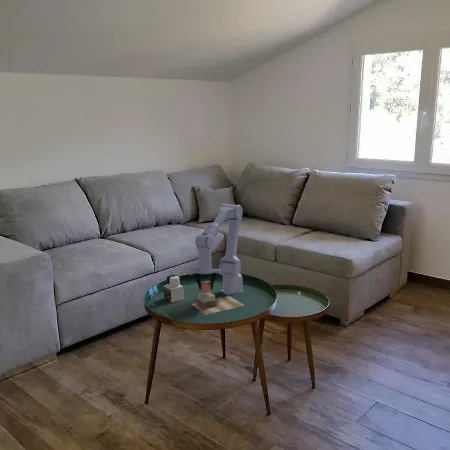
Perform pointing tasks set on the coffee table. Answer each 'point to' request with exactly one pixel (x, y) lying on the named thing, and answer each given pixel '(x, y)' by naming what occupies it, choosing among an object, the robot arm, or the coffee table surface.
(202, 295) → the tower top
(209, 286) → the cylinder
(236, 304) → the board
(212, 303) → the tower base
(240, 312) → the coffee table surface
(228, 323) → the coffee table surface
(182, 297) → the medicine bottle
